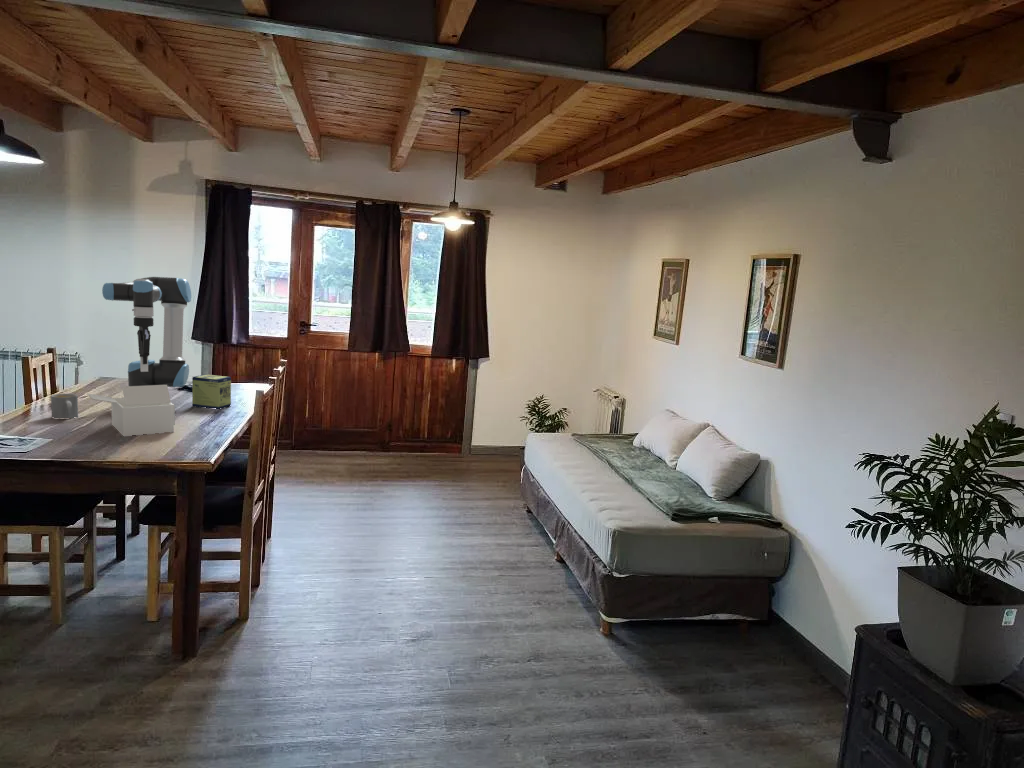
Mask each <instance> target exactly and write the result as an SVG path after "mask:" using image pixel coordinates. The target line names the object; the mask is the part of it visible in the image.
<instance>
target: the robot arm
mask: <svg viewBox="0 0 1024 768" xmlns="http://www.w3.org/2000/svg"><path fill="white" fill-rule="evenodd" d="M191 289H192V288H191V285H190V283H189V281H188V280H187V279H185V278H181V277H165V276H164V277H163V276H149V277H142V278H136V279H134V280H132V281H127V282H126V281H125V282H116V283H115V282H105V283H104V284H103V286H102V293H101V294H102V297H103V298H104V300H106V301H107V300H108V301H112V302H113V301H117V302H118V301H119V302H120V301H121V302H133V303H132V304H133V308H132V309H131V311H132V312H133V316H134V317H133V326H135V327H138V329H137V333H136V334H137V342H138V354H139V357H140V358H139V360H134V361H132V362H129V363H128V367H127V368H128V369H127V377H128V379H127V381H128V385H127V386H148V385H167V387H168V388H182V387H185V385H186V384H187V382H188V379H189V374H190V365H189V364H188V363H186V359H185V358H184V357H183V343H184V342H183V341H184V339H183V336H184V334H183V333H184V310H185V309H186V307H188V303H189V304H190V302H191V301H192V291H191ZM158 301H159V302H161V303H160V305H161V306H162V308H164V310H163V311H164V312H163V337H162V338H163V341H162V344H163V345H162V356H161V358H159V360H158V361H159V362H156V360H155V359H149V356H150V348H151V347H150V346H151V336H152V335H151V331H150V330H149V327H154V323H155V322H154V303H156V302H158Z"/></svg>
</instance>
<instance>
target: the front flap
mask: <svg viewBox="0 0 1024 768" xmlns="http://www.w3.org/2000/svg"><path fill="white" fill-rule="evenodd" d="M121 388H122V393H123V394H122V395H123V398H124V400H125V405H126V406H129V405H145V404H162V403H172V401H171V397H170V392H169V387H167V385H148V386H128V385H127V386H122V387H121Z"/></svg>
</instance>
